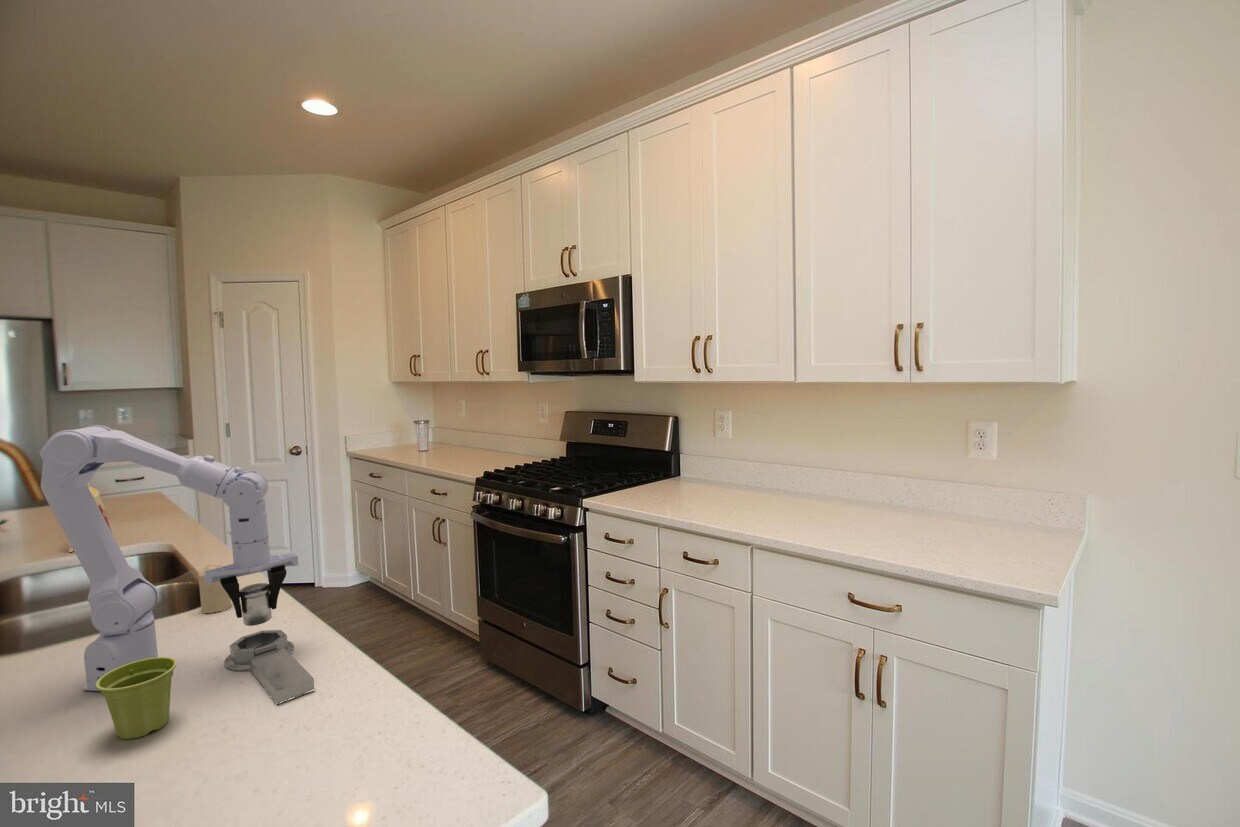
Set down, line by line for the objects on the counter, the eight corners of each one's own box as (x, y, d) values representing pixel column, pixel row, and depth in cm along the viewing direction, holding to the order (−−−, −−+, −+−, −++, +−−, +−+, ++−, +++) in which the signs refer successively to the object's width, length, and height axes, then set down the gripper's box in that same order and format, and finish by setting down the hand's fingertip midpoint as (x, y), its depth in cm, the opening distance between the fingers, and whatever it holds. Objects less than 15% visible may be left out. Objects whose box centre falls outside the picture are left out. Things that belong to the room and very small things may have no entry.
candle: (237, 604, 137) (233, 561, 136) (218, 614, 131) (214, 569, 131) (214, 603, 137) (210, 561, 137) (195, 614, 132) (191, 569, 131)
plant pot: (87, 753, 84) (80, 694, 84) (122, 715, 93) (116, 662, 93) (165, 740, 87) (159, 682, 86) (192, 705, 96) (187, 652, 95)
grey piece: (332, 684, 101) (330, 667, 101) (257, 712, 93) (256, 693, 93) (283, 636, 119) (282, 622, 119) (218, 657, 112) (216, 641, 111)
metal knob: (258, 627, 108) (255, 596, 108) (235, 625, 110) (231, 593, 109) (279, 614, 113) (276, 584, 112) (257, 612, 114) (253, 582, 113)
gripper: (204, 553, 102) (211, 630, 103) (299, 535, 111) (305, 607, 112) (200, 544, 107) (207, 618, 109) (291, 528, 117) (296, 596, 118)
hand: (256, 611), depth 111 cm, fingers closed on metal knob, 5 cm apart
